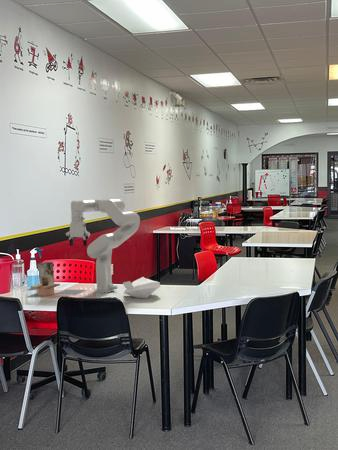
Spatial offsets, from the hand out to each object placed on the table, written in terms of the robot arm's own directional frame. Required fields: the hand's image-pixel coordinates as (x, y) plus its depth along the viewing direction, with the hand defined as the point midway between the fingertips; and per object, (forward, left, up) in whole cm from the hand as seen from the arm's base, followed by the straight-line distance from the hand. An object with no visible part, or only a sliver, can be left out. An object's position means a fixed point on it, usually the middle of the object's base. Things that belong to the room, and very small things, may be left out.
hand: (78, 245), depth 379 cm
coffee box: (+28, -5, -28) cm, 40 cm away
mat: (-1, +14, -28) cm, 32 cm away
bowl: (+12, +23, -28) cm, 38 cm away
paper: (-50, +19, -29) cm, 61 cm away
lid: (+12, +23, -23) cm, 35 cm away
